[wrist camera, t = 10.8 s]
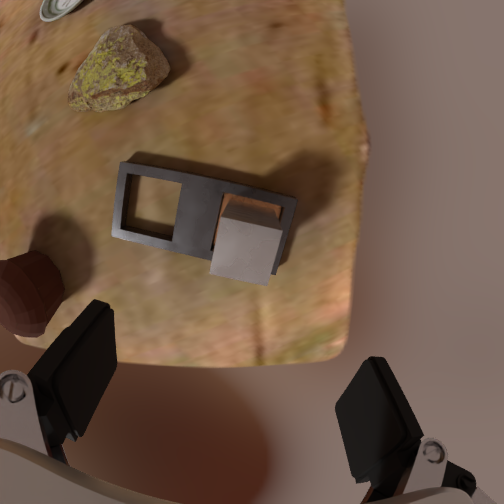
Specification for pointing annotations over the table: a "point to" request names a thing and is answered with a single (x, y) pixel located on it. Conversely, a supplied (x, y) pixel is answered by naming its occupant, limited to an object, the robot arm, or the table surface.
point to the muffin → (29, 293)
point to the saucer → (57, 9)
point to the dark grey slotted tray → (195, 210)
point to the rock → (117, 71)
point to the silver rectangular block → (246, 243)
